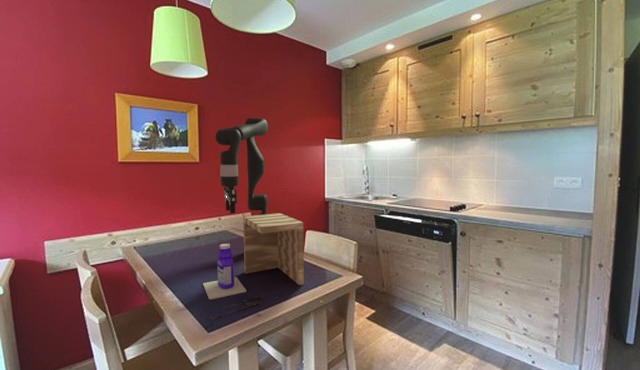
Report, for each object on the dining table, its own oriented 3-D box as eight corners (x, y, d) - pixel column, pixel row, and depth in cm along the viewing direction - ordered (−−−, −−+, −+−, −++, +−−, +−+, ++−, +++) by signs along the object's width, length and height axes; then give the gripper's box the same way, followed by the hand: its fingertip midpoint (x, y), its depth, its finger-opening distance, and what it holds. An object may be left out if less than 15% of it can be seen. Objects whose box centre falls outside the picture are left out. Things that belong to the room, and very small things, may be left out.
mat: (203, 284, 124) (202, 283, 124) (236, 277, 131) (236, 276, 131) (209, 299, 110) (209, 298, 110) (246, 291, 117) (246, 290, 117)
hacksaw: (261, 297, 113) (260, 293, 113) (272, 308, 105) (272, 304, 105) (194, 316, 100) (194, 312, 99) (201, 330, 91) (201, 326, 91)
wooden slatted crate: (244, 272, 138) (243, 216, 136) (280, 265, 147) (279, 213, 145) (262, 293, 115) (261, 227, 113) (303, 284, 124) (303, 222, 122)
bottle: (215, 285, 122) (214, 244, 120) (228, 281, 126) (227, 241, 124) (223, 291, 117) (222, 248, 115) (236, 286, 121) (235, 245, 119)
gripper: (242, 175, 124) (243, 213, 126) (234, 174, 137) (235, 208, 138) (223, 176, 120) (224, 215, 122) (217, 174, 133) (218, 210, 134)
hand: (230, 211), depth 130 cm, fingers open, 8 cm apart
